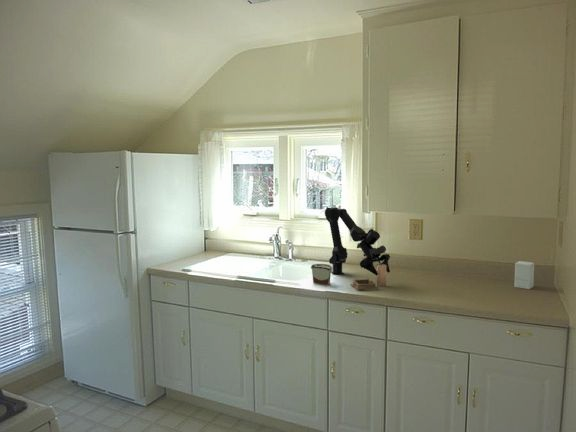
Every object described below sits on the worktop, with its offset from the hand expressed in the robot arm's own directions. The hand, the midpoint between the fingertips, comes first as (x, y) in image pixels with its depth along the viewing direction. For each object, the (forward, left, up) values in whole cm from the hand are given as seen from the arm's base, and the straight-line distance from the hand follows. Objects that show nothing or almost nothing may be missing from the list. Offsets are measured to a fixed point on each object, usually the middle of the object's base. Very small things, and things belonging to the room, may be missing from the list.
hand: (383, 273), depth 230 cm
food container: (-13, -29, -7) cm, 33 cm away
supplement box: (+19, +69, -7) cm, 72 cm away
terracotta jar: (-1, -1, -7) cm, 7 cm away
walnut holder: (0, -11, -7) cm, 13 cm away
